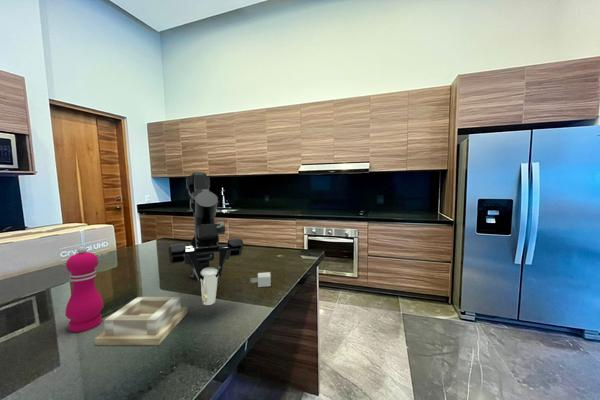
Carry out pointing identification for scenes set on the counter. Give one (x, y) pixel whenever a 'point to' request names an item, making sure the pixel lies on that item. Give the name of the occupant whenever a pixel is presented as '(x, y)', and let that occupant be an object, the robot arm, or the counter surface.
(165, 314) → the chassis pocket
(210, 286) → the milkshake
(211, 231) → the robot arm
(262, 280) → the usb wall charger
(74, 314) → the pepper mill
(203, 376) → the counter surface
